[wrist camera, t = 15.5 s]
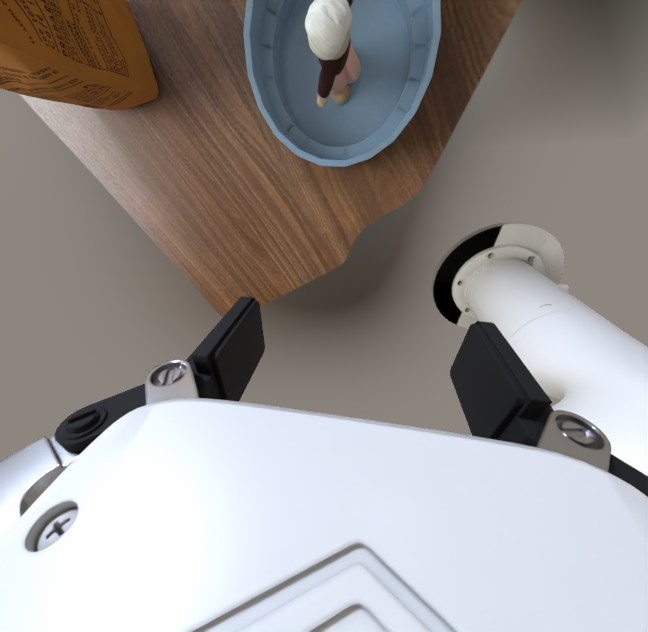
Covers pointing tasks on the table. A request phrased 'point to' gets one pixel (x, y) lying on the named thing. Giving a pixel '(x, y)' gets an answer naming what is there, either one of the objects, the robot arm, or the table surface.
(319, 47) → the grandmother figurine
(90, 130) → the table surface
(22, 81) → the coffee package
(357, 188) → the table surface
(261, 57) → the bowl
